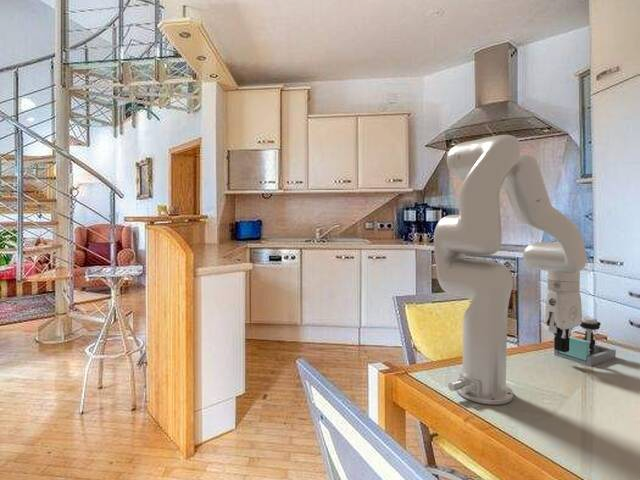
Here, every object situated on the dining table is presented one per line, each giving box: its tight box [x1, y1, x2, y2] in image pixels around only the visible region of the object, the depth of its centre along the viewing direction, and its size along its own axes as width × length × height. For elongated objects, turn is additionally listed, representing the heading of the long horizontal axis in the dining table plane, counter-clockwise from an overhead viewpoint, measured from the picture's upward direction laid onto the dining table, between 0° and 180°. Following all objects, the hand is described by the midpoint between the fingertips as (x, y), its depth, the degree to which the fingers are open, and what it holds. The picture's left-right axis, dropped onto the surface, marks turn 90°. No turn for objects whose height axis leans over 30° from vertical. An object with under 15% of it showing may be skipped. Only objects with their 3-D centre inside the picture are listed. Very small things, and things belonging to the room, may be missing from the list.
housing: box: [553, 343, 617, 367], centre depth 113 cm, size 13×10×2 cm
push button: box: [579, 316, 602, 354], centre depth 113 cm, size 7×5×10 cm
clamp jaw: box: [559, 336, 589, 361], centre depth 110 cm, size 2×7×5 cm, turn 27°
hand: (561, 350), depth 107 cm, fingers closed
